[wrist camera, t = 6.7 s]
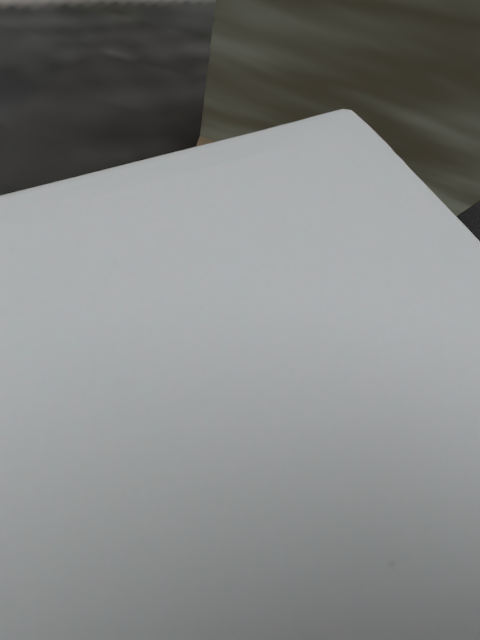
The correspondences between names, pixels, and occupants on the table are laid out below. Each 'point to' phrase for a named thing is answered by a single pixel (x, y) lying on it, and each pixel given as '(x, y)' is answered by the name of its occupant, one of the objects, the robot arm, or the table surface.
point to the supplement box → (240, 397)
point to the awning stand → (356, 77)
